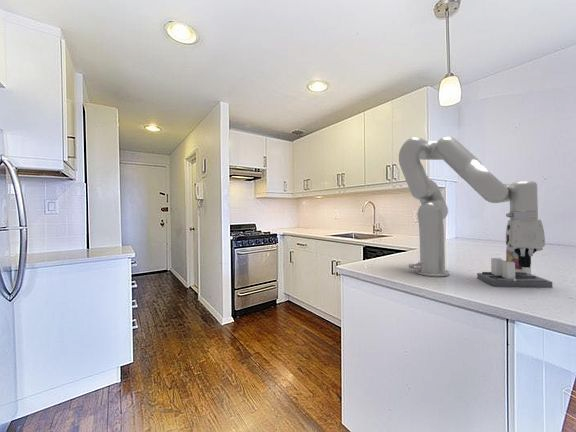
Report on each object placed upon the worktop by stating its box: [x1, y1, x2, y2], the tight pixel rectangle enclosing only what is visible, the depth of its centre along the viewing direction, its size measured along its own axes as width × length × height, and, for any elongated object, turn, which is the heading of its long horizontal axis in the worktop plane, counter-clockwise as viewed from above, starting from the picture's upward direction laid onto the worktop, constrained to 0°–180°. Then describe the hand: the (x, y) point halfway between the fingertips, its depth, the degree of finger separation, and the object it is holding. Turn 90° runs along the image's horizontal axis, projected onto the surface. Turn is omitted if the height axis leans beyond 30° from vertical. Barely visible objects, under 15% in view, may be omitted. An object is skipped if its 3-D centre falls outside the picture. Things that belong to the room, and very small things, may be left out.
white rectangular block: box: [490, 257, 505, 275], centre depth 103 cm, size 2×4×6 cm
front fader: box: [502, 260, 515, 279], centre depth 98 cm, size 2×4×6 cm
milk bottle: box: [505, 245, 532, 274], centre depth 110 cm, size 8×8×20 cm
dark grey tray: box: [476, 271, 553, 289], centre depth 100 cm, size 18×12×3 cm, turn 79°
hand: (524, 266), depth 97 cm, fingers closed
